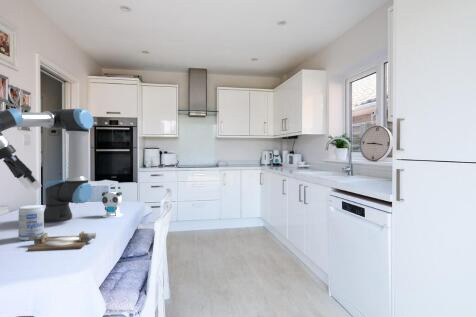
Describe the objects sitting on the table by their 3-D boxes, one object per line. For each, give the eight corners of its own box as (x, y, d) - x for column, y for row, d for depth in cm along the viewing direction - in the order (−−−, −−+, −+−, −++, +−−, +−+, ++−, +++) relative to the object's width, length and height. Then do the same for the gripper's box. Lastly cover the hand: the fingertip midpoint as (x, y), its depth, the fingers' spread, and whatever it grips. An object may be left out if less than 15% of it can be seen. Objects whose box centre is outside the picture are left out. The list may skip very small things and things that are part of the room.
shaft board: (40, 239, 130) (39, 229, 130) (100, 236, 134) (100, 227, 134) (19, 251, 114) (19, 240, 114) (88, 248, 119) (88, 237, 118)
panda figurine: (97, 217, 173) (97, 192, 173) (109, 213, 184) (109, 190, 184) (115, 218, 171) (115, 193, 171) (126, 214, 182) (126, 191, 182)
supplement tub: (28, 242, 126) (28, 209, 125) (13, 239, 129) (12, 207, 128) (48, 235, 135) (48, 205, 135) (34, 233, 138) (34, 203, 138)
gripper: (-14, 155, 126) (19, 193, 134) (-4, 149, 109) (33, 193, 117) (4, 146, 131) (35, 183, 139) (16, 140, 114) (50, 182, 122)
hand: (34, 188), depth 128 cm, fingers open, 13 cm apart
